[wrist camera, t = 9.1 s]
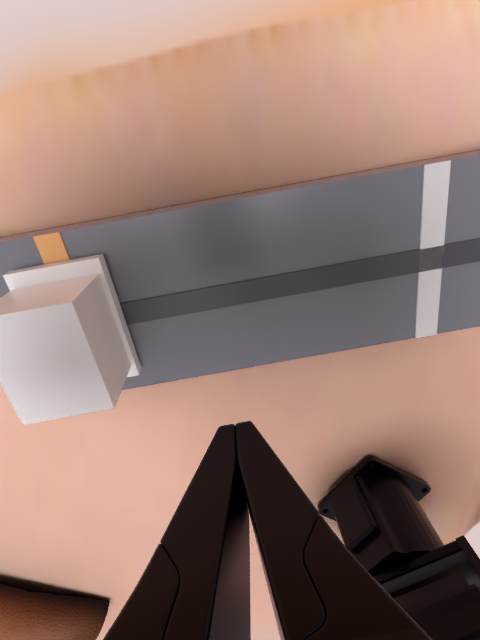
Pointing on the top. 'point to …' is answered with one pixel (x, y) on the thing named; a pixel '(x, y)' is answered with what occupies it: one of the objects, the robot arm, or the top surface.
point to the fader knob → (63, 340)
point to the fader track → (285, 267)
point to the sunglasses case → (49, 616)
